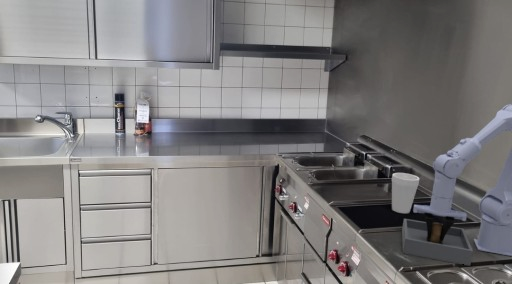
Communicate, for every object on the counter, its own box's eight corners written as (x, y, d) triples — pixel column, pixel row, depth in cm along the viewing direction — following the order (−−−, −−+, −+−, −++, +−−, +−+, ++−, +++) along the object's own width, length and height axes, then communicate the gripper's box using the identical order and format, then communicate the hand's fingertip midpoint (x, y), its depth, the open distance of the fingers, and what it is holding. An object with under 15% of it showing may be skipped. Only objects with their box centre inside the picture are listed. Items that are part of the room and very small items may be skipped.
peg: (438, 242, 137) (442, 223, 136) (439, 245, 134) (443, 226, 133) (428, 240, 138) (431, 221, 137) (429, 243, 135) (432, 224, 134)
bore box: (461, 242, 142) (463, 228, 141) (470, 266, 126) (473, 251, 125) (401, 231, 146) (403, 218, 145) (402, 253, 130) (405, 238, 129)
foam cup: (407, 206, 172) (412, 173, 169) (418, 215, 163) (424, 180, 160) (383, 205, 170) (388, 172, 168) (394, 214, 161) (399, 179, 159)
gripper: (466, 195, 134) (459, 237, 137) (415, 187, 138) (409, 229, 141) (470, 202, 128) (462, 247, 131) (417, 194, 132) (410, 237, 134)
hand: (434, 238), depth 135 cm, fingers closed on peg, 3 cm apart
